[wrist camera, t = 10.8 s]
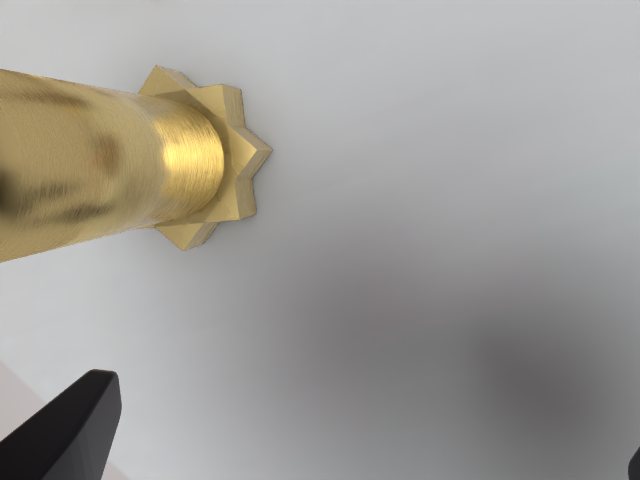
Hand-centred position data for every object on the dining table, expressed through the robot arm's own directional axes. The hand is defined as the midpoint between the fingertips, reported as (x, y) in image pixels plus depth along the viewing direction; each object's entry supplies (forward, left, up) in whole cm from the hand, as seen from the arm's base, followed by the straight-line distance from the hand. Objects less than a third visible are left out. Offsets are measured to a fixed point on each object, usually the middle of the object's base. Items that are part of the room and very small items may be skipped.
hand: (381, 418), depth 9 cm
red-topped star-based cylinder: (+8, +7, -13) cm, 17 cm away
